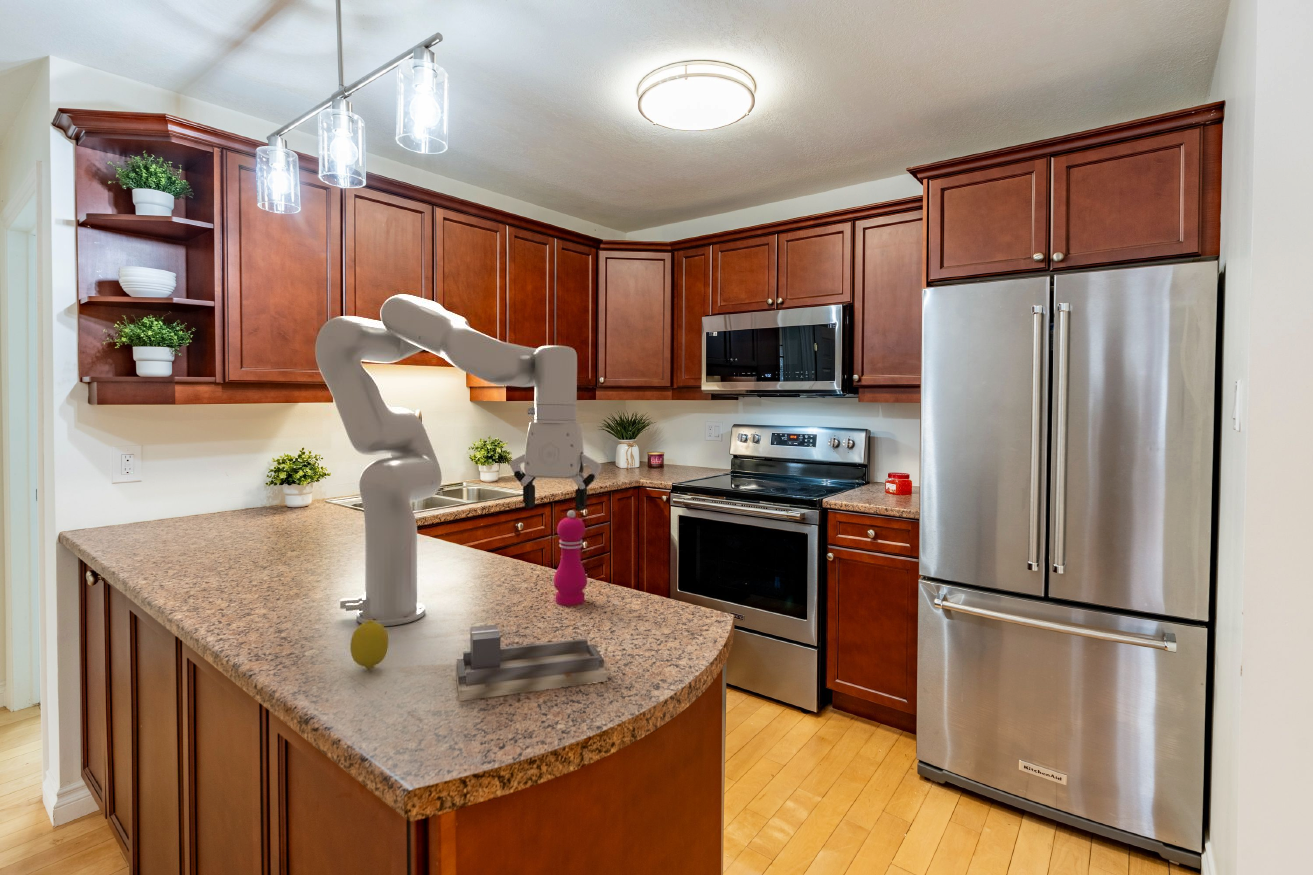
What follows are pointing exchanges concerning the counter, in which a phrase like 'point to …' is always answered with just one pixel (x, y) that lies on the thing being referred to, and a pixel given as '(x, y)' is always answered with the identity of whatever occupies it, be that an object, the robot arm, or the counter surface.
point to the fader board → (532, 669)
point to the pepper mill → (570, 562)
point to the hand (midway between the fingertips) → (554, 508)
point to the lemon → (369, 644)
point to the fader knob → (484, 647)
